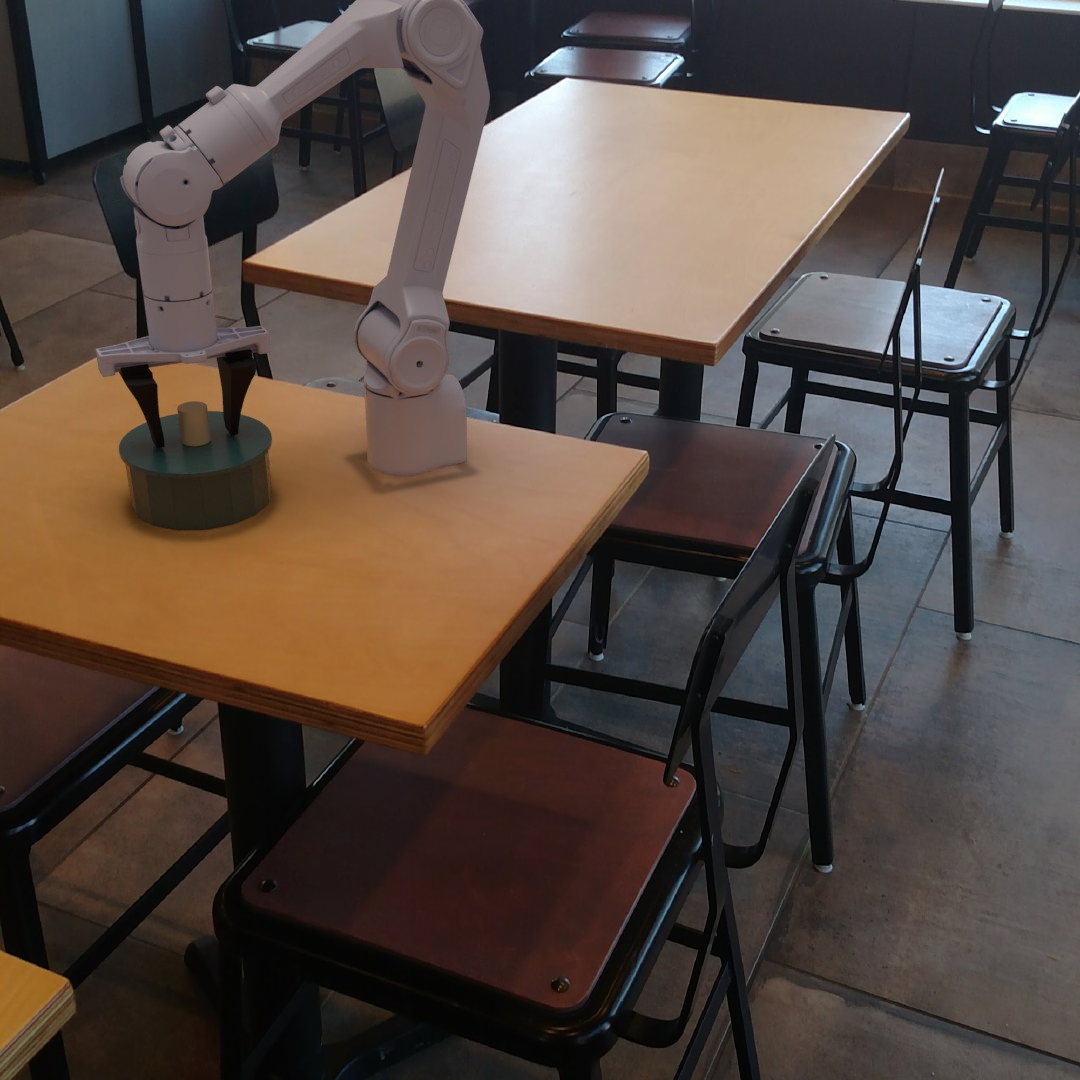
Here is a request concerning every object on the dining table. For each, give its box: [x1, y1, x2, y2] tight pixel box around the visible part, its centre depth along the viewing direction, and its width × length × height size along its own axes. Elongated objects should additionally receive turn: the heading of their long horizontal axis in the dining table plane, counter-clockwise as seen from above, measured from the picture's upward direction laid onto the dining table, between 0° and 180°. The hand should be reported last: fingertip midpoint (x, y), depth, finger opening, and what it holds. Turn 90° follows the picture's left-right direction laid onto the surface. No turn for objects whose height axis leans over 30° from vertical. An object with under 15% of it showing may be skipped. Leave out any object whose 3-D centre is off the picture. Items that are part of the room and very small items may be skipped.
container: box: [124, 451, 273, 531], centre depth 114 cm, size 12×12×6 cm
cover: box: [118, 400, 273, 478], centre depth 112 cm, size 13×13×4 cm
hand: (195, 437), depth 113 cm, fingers open, 6 cm apart
